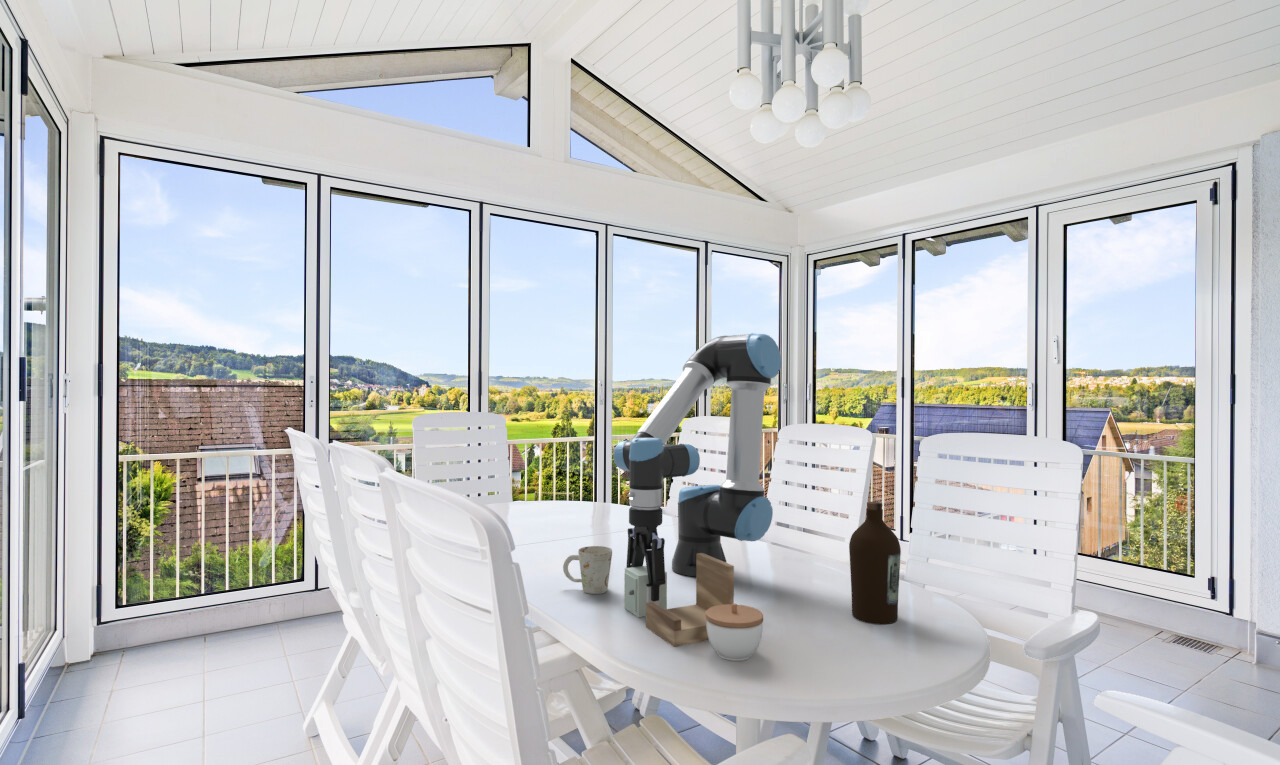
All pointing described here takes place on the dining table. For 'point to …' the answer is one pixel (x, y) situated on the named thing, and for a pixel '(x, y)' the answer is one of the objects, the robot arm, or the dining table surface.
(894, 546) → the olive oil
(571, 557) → the mug
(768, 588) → the dining table surface
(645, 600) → the cabinet block
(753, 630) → the lidded jar
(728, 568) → the wooden stand
